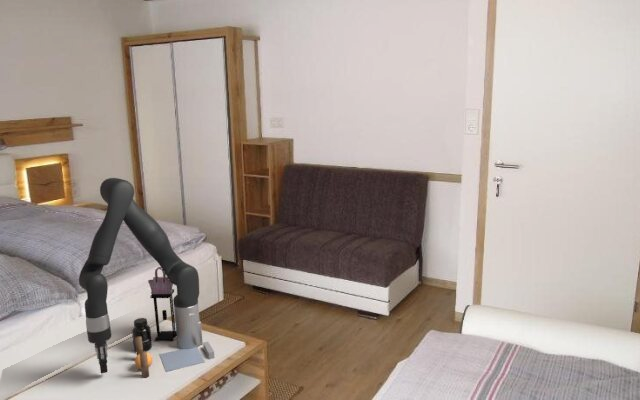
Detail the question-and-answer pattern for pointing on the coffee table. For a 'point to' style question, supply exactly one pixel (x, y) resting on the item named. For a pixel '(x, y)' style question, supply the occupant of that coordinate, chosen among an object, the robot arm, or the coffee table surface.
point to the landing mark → (181, 358)
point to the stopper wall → (208, 350)
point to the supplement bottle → (142, 333)
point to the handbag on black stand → (159, 289)
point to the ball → (138, 363)
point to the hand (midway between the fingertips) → (104, 371)
